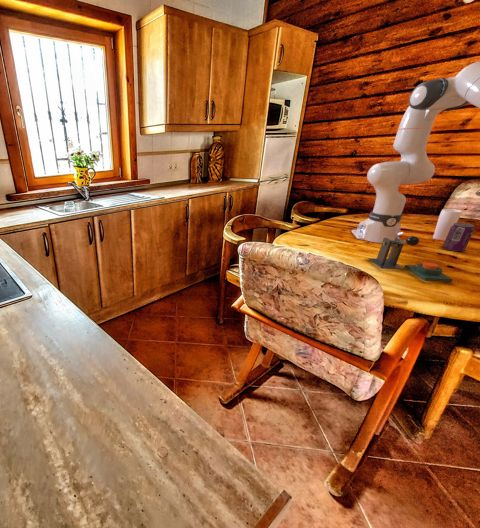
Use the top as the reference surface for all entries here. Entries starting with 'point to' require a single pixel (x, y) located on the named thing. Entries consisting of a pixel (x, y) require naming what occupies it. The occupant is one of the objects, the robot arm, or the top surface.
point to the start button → (430, 265)
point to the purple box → (458, 236)
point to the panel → (428, 273)
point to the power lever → (406, 241)
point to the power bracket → (393, 256)
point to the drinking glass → (446, 223)
